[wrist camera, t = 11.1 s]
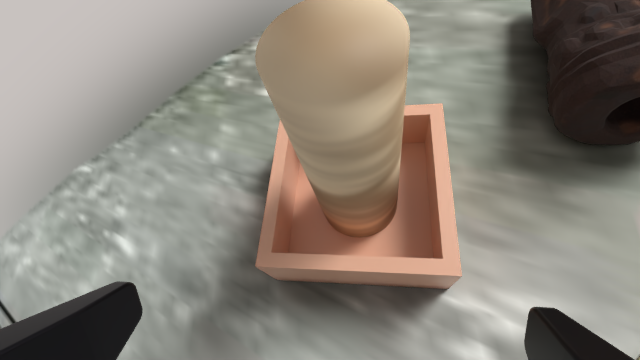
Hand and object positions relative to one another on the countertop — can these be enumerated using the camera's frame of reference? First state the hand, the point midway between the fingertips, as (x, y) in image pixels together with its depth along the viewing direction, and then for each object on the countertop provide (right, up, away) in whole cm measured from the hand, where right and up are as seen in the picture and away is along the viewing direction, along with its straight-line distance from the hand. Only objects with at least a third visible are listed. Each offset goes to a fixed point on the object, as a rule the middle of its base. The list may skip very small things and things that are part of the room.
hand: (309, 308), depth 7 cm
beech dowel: (+3, +1, +14) cm, 15 cm away
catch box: (+3, +1, +15) cm, 15 cm away
